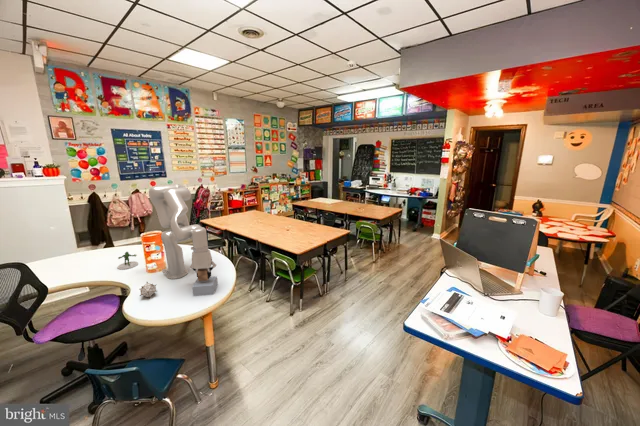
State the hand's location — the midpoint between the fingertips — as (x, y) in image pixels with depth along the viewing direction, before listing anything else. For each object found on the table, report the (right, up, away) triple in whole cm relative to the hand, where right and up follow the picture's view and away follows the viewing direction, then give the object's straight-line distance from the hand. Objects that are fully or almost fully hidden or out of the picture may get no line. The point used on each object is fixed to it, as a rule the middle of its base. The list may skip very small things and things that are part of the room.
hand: (204, 277), depth 147 cm
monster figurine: (-70, -1, +33) cm, 78 cm away
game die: (-29, -10, -4) cm, 31 cm away
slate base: (0, -8, +2) cm, 9 cm away
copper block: (0, -1, 0) cm, 1 cm away
